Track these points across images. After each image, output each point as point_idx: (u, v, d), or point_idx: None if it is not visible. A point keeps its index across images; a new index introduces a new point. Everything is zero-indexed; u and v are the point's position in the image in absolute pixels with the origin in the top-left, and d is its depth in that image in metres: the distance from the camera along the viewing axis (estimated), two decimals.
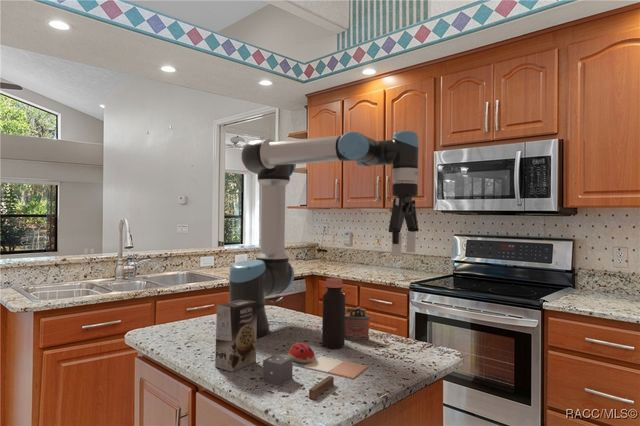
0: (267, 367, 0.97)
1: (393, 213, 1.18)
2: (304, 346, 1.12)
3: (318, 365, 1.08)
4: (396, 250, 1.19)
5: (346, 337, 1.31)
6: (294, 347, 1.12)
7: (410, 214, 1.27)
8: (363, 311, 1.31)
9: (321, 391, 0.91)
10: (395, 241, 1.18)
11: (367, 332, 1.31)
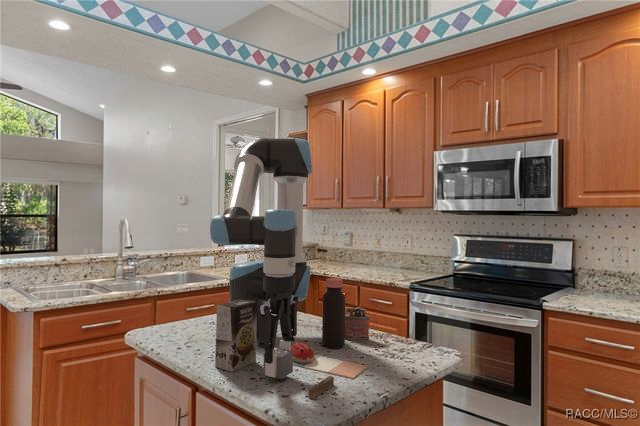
0: None
1: (261, 326, 0.94)
2: (304, 346, 1.12)
3: (318, 365, 1.08)
4: (270, 370, 0.96)
5: (346, 337, 1.31)
6: (294, 347, 1.12)
7: (285, 314, 1.00)
8: (363, 311, 1.31)
9: (321, 391, 0.91)
10: (267, 360, 0.95)
11: (367, 332, 1.31)
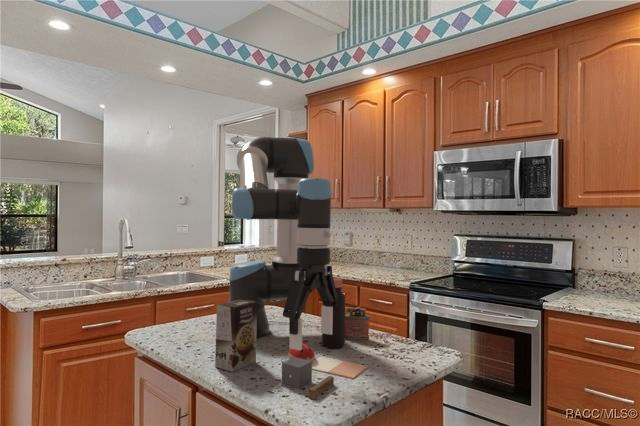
0: (286, 380, 0.95)
1: (291, 292, 0.87)
2: (304, 346, 1.12)
3: (318, 365, 1.08)
4: (295, 342, 0.88)
5: (346, 337, 1.31)
6: None
7: (322, 286, 0.96)
8: (363, 311, 1.31)
9: (321, 391, 0.91)
10: (293, 330, 0.86)
11: (367, 332, 1.31)
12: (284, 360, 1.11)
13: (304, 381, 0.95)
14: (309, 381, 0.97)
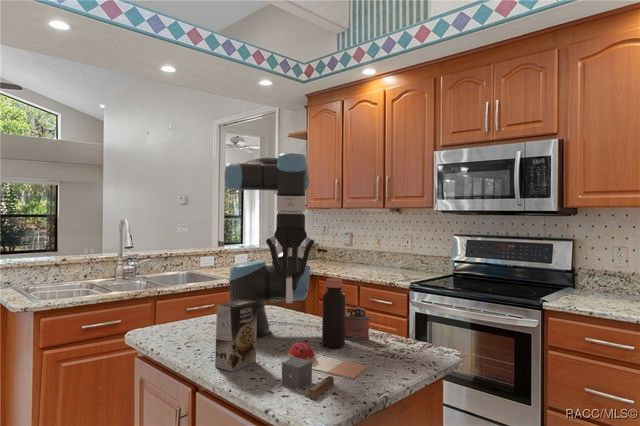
0: (286, 380, 0.95)
1: None
2: (304, 346, 1.12)
3: (318, 365, 1.08)
4: None
5: (346, 337, 1.31)
6: (294, 347, 1.12)
7: None
8: (363, 311, 1.31)
9: (321, 391, 0.91)
10: (282, 286, 1.10)
11: (367, 332, 1.31)
12: (284, 360, 1.11)
13: (304, 381, 0.95)
14: (309, 381, 0.96)
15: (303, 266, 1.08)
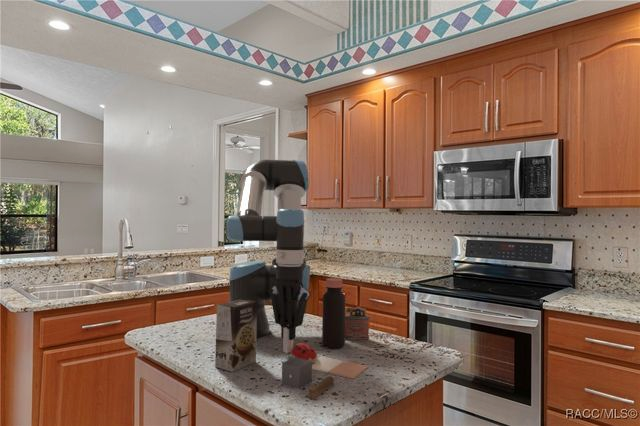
0: (286, 380, 0.95)
1: None
2: (307, 346, 1.11)
3: (318, 365, 1.08)
4: None
5: (346, 337, 1.31)
6: (296, 348, 1.11)
7: None
8: (363, 311, 1.31)
9: (321, 391, 0.91)
10: None
11: (367, 332, 1.31)
12: (284, 360, 1.11)
13: (305, 381, 0.95)
14: (309, 381, 0.96)
15: (297, 318, 1.11)
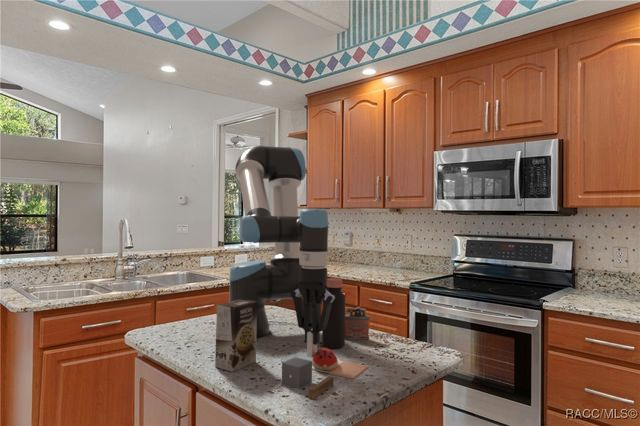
0: (286, 380, 0.95)
1: None
2: (327, 352, 1.07)
3: None
4: None
5: (346, 337, 1.31)
6: (317, 352, 1.08)
7: None
8: (363, 311, 1.31)
9: (321, 391, 0.91)
10: None
11: (367, 332, 1.31)
12: (284, 360, 1.11)
13: (305, 381, 0.95)
14: (309, 381, 0.96)
15: (322, 322, 1.08)
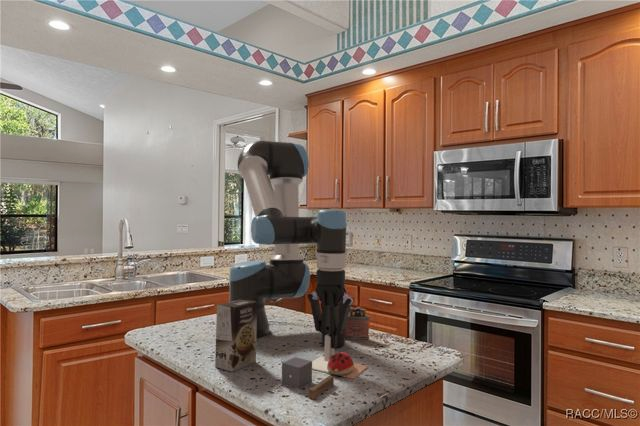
0: (286, 380, 0.95)
1: None
2: (342, 356, 1.04)
3: (318, 365, 1.08)
4: None
5: (346, 337, 1.31)
6: (333, 355, 1.05)
7: None
8: (363, 311, 1.31)
9: (321, 391, 0.91)
10: None
11: (367, 332, 1.31)
12: (284, 360, 1.11)
13: (305, 381, 0.95)
14: (309, 381, 0.96)
15: (340, 325, 1.05)
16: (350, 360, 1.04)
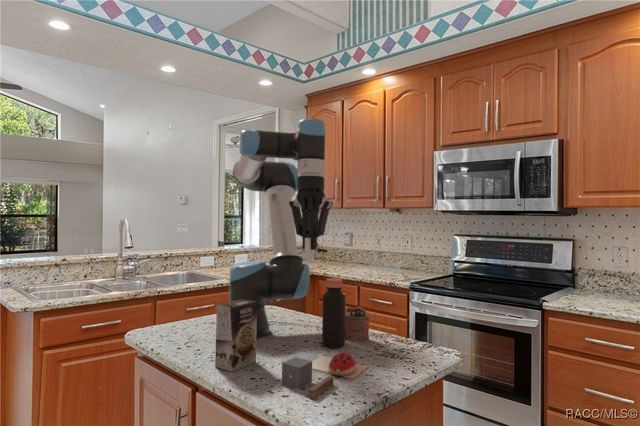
0: (286, 380, 0.95)
1: None
2: (344, 357, 1.04)
3: (318, 365, 1.08)
4: None
5: (346, 337, 1.31)
6: (334, 356, 1.05)
7: None
8: (363, 311, 1.31)
9: (321, 391, 0.91)
10: None
11: (367, 332, 1.31)
12: (284, 360, 1.11)
13: (305, 381, 0.95)
14: (309, 381, 0.96)
15: (319, 226, 1.11)
16: (352, 360, 1.03)
